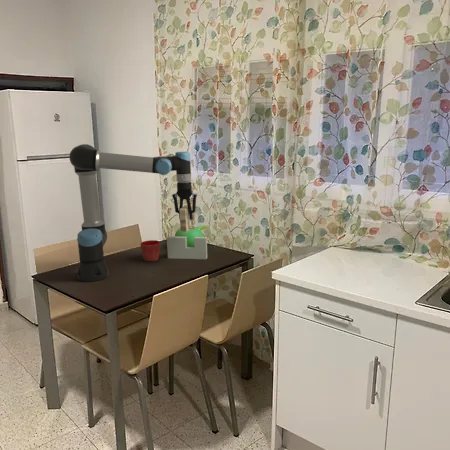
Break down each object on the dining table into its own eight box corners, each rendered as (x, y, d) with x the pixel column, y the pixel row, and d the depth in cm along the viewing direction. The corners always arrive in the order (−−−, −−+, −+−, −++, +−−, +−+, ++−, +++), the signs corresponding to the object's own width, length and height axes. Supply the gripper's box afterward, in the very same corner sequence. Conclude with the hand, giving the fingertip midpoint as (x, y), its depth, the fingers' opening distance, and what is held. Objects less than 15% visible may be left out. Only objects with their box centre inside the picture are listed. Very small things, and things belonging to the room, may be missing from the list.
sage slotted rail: (167, 258, 257) (166, 237, 254) (169, 256, 260) (168, 236, 257) (206, 259, 253) (205, 238, 250) (207, 257, 256) (206, 237, 253)
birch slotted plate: (189, 223, 257) (188, 202, 255) (195, 223, 257) (194, 202, 254) (180, 231, 238) (179, 209, 235) (186, 232, 238) (185, 209, 235)
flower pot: (137, 259, 256) (136, 242, 254) (154, 255, 263) (153, 239, 261) (147, 263, 248) (146, 246, 246) (164, 259, 255) (163, 242, 253)
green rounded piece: (169, 249, 274) (168, 225, 270) (187, 243, 287) (186, 220, 284) (192, 254, 263) (191, 229, 260) (210, 247, 277) (209, 223, 273)
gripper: (167, 182, 236) (169, 227, 241) (197, 182, 233) (199, 227, 238) (171, 180, 243) (173, 223, 248) (200, 180, 240) (202, 224, 245)
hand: (186, 225), depth 243 cm, fingers closed on birch slotted plate, 3 cm apart
